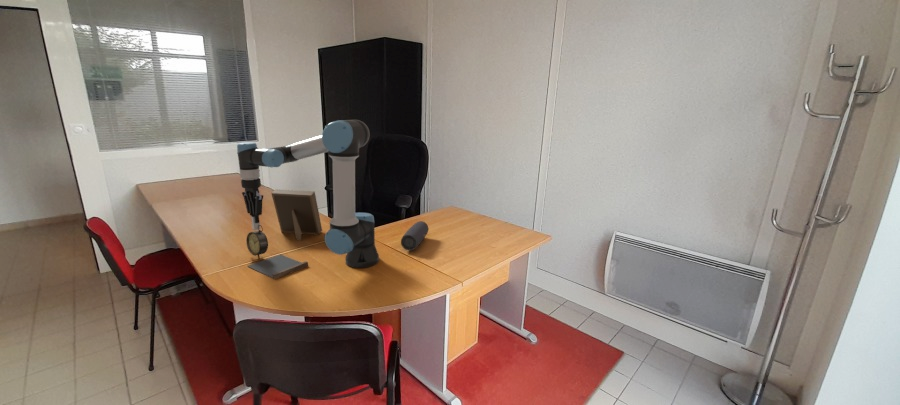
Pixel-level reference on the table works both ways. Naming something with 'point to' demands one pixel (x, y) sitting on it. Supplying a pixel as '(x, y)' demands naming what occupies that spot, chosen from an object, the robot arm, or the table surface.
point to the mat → (273, 265)
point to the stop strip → (290, 270)
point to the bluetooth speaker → (414, 235)
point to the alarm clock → (257, 242)
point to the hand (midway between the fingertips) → (256, 229)
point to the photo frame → (297, 212)
